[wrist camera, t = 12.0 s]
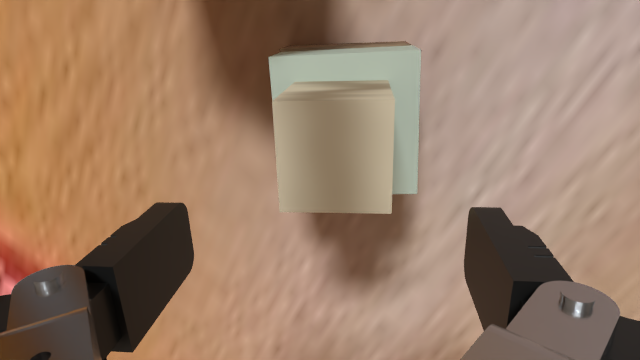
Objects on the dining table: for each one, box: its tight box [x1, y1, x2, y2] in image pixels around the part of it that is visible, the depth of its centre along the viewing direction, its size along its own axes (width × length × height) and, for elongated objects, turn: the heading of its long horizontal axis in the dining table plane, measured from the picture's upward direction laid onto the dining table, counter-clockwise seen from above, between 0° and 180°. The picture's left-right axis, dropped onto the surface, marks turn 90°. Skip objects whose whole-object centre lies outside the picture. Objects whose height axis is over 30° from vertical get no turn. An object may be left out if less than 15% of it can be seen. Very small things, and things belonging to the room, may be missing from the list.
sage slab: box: [268, 45, 421, 194], centre depth 26 cm, size 8×8×4 cm
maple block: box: [272, 80, 395, 214], centre depth 21 cm, size 5×5×6 cm
